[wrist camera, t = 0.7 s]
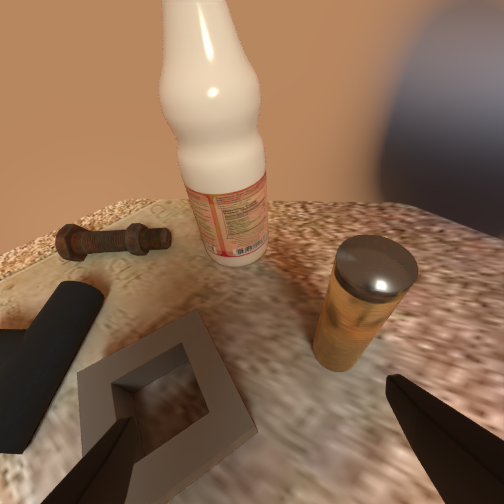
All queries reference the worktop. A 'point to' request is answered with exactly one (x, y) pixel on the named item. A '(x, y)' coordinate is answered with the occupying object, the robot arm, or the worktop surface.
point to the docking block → (189, 440)
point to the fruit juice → (215, 127)
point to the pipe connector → (41, 360)
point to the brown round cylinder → (360, 297)
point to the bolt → (109, 241)
